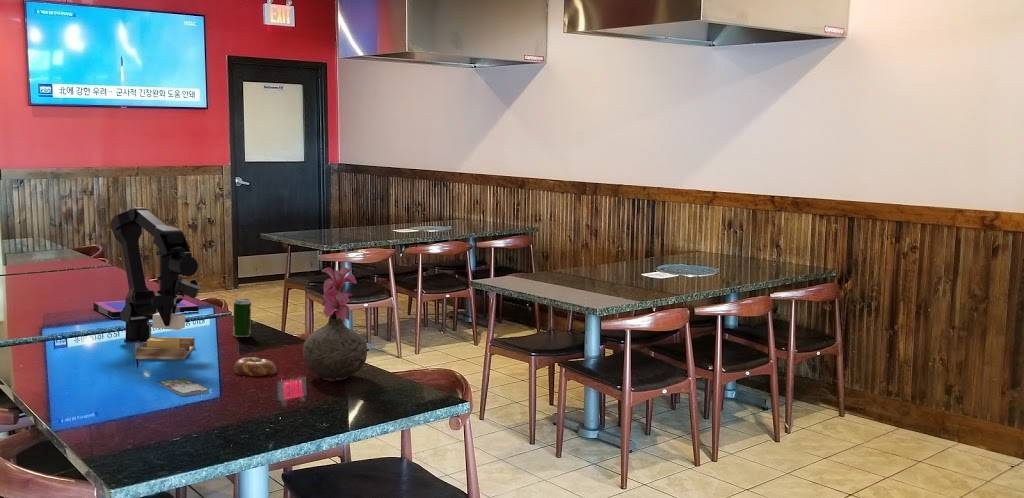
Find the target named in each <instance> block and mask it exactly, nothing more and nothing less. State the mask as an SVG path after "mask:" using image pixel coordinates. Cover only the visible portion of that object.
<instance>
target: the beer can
mask: <svg viewBox="0 0 1024 498" xmlns="http://www.w3.org/2000/svg"><path fill="white" fill-rule="evenodd" d="M232 318H233V321H232V323H233V324H232V326H233V327H232V335H233V337H234V336H235V337H234V338H236V337H247V338H249V337H250V336H251V332H252V331H251V330H252V329H251V327H252V323H251V322H252V302H251V299H250V298H235V299H234V302H233V316H232Z"/></svg>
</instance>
